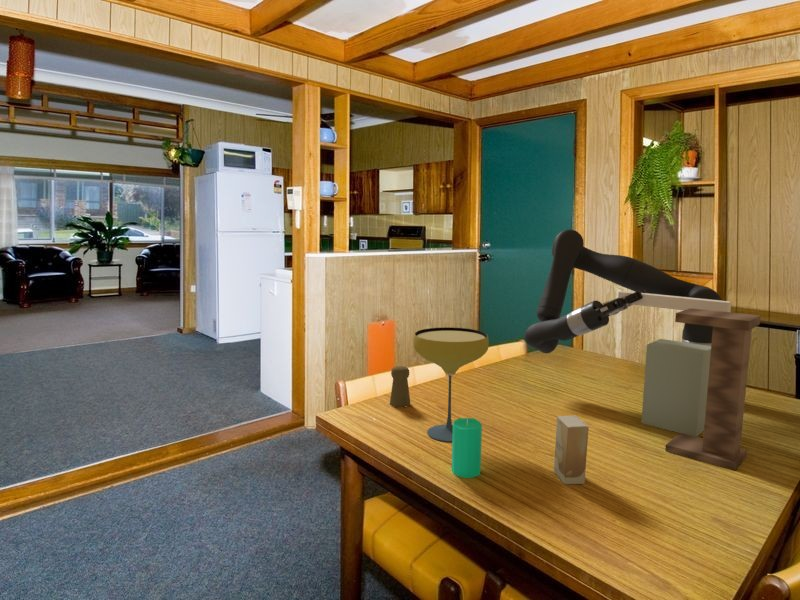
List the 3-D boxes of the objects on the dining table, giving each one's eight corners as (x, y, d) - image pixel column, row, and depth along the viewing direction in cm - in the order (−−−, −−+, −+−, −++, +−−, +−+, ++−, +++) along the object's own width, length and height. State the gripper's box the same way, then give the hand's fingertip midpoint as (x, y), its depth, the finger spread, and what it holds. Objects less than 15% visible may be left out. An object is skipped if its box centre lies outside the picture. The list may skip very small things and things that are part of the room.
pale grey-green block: (641, 423, 140) (646, 344, 137) (655, 413, 147) (660, 338, 145) (696, 437, 131) (703, 353, 128) (707, 426, 138) (714, 346, 136)
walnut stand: (665, 450, 123) (675, 313, 119) (679, 438, 130) (690, 308, 126) (735, 470, 114) (749, 321, 109) (746, 456, 121) (760, 315, 116)
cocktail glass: (491, 449, 124) (494, 342, 120) (412, 448, 124) (413, 341, 121) (481, 420, 142) (483, 327, 138) (412, 419, 142) (413, 326, 139)
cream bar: (617, 302, 145) (618, 291, 145) (622, 301, 147) (623, 290, 147) (726, 315, 127) (728, 302, 127) (730, 313, 129) (731, 301, 129)
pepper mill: (408, 408, 151) (408, 370, 149) (387, 406, 152) (387, 368, 151) (412, 401, 157) (412, 364, 155) (392, 400, 158) (392, 363, 157)
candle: (460, 462, 117) (461, 409, 115) (485, 469, 113) (487, 415, 112) (446, 472, 112) (447, 417, 110) (472, 480, 108) (473, 423, 107)
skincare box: (553, 471, 113) (555, 415, 111) (573, 470, 113) (576, 414, 111) (564, 485, 106) (567, 426, 105) (586, 484, 107) (589, 426, 105)
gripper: (570, 309, 149) (626, 282, 138) (592, 304, 159) (647, 279, 147) (581, 334, 147) (639, 309, 136) (603, 327, 157) (659, 304, 146)
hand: (643, 293), depth 142 cm, fingers closed on cream bar, 3 cm apart
